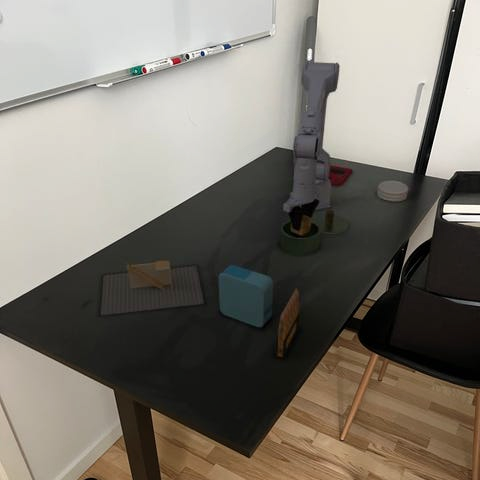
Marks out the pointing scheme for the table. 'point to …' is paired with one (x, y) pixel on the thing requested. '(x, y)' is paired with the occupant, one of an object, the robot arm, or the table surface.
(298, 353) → the table surface
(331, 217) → the lid
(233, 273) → the data package
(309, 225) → the block
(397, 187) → the coaster
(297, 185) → the robot arm
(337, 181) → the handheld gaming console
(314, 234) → the bowl
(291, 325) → the brown wooden panel
